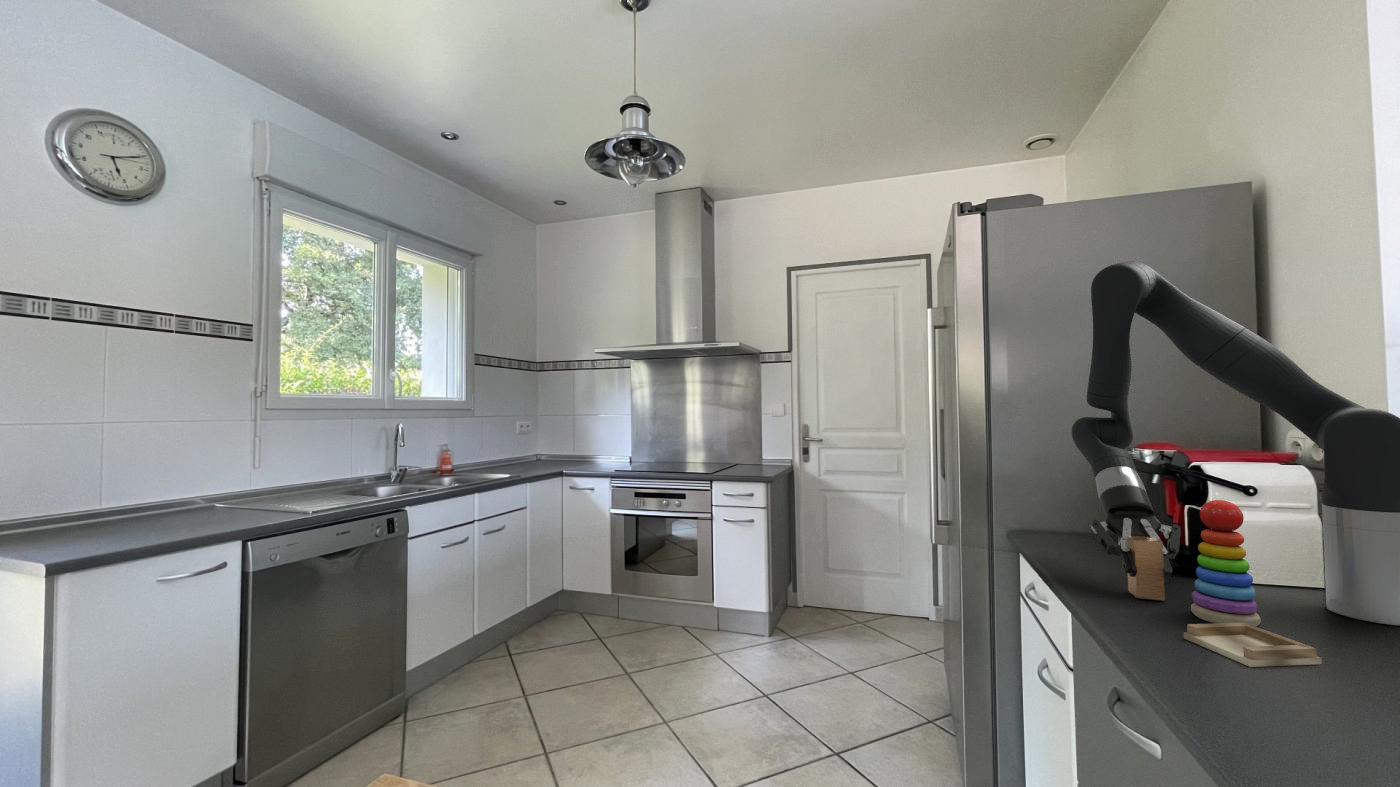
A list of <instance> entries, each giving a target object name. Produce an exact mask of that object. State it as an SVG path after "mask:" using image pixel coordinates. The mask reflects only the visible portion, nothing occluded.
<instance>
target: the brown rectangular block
mask: <svg viewBox="0 0 1400 787" xmlns="http://www.w3.org/2000/svg"><path fill="white" fill-rule="evenodd" d="M1127 537H1128V543H1129V547H1130V550H1129V552H1130V553H1132V556H1133V560H1134V563H1135V566H1136V567H1137V574H1136V575H1135V577H1131V576H1129V573H1127V590H1128V592H1129V593H1131V595H1133V596H1134V597H1135V598H1136V599H1141V600H1142V599H1144V600H1154V601H1166V593H1165V592H1166V591H1165V579H1164V573H1163V568H1164V563H1163V546H1164V545H1163V544H1164V543H1163V541H1162V540H1161V541H1160V540H1158V539H1156V538H1153V537H1144V536H1127Z"/></svg>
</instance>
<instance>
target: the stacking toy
mask: <svg viewBox="0 0 1400 787" xmlns="http://www.w3.org/2000/svg"><path fill="white" fill-rule="evenodd" d="M1199 517H1200V520H1201V521H1202V523H1203V524H1204V525H1205V526H1206V527H1207V529H1204V530H1202V531H1201V532H1200V537H1201V539H1202V540H1203V541H1202V542H1200V543H1199V544H1198V545H1197V547H1198V548H1197V549H1198V551H1199V553H1200V554H1199V555H1198V556H1197V559H1196V560H1197V563H1198V565H1199V566H1198V567H1197V568H1196V569H1195V574H1196V576H1197V577H1198V578H1197V579H1195V581H1194V588H1196V590H1194V591H1193V592H1192V593H1191V598H1192V600H1193V603H1191V606H1190V610H1191V612H1192V614H1193V615H1194V616H1196V617H1197V618H1199V619H1201V620H1203V621H1206V622H1209V623H1211V624H1215V623H1247V624H1250V625H1252V626H1255V627H1258V626H1259V625H1261V621H1262V619H1261V616H1260V615H1259V614H1258V613H1257V611H1258V605H1257V603H1256V601H1255V600H1254V598H1255V597H1256V590H1255V588H1254V587H1253V586H1252V584H1253V582H1254V579H1253V576H1252V575H1251V574H1250V573H1249V572H1248V571H1249V570H1250V567H1251V566H1250V563H1249V562H1248V561H1247V560H1246V559H1244V558H1246V556H1247V552H1246V549H1245V548H1244V547H1243V546H1241V545H1242V544H1244V542H1245V537H1244V535H1243V534H1242V533H1240V532H1238V531H1236V530H1238V529H1239V528H1240V527H1242V526H1243V523H1244V513H1243V511H1242V510H1241V508H1240V507H1238V506H1237V505H1236V504H1235V503H1232V502H1231V501H1227V500H1225V499H1215V500H1209V501H1208V502H1206V503H1204V504H1203V505H1202V506H1201V507H1200V510H1199Z"/></svg>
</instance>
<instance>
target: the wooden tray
mask: <svg viewBox="0 0 1400 787" xmlns="http://www.w3.org/2000/svg"><path fill="white" fill-rule="evenodd" d="M1186 625H1187V626H1186V628H1187V631H1186V632H1183V639H1184V640H1187V641H1189V642H1191V643H1193V644H1196V645H1198V646H1201V647H1203V648H1205V649H1207V650H1210V651H1213V652H1215V653H1217V654H1219V655H1222V656H1223V657H1226V658H1229V659H1231V660H1233V661H1235V662H1237V663H1240V664H1242V665H1245V666H1248V667H1250V668H1253V667H1255V668H1256V667H1257V668H1259V667H1281V666H1283V667H1284V666H1287V667H1288V666H1308V665H1314V666H1315V665H1322V657H1320V656H1318V652H1317V650H1318V649H1317V648H1316V647H1313V646H1310V645H1308V644H1305V643H1302V642H1299V641H1296V640H1294V639H1291V638H1288V637H1286V636H1282V635H1280V634H1277V633H1275V632H1271V631H1269V630H1266V629H1263V628H1260V627H1258V626H1256V627H1255V626H1252V625H1250V624H1247V623H1196V624H1195V623H1188V624H1186Z"/></svg>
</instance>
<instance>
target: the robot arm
mask: <svg viewBox="0 0 1400 787" xmlns="http://www.w3.org/2000/svg"><path fill="white" fill-rule="evenodd" d="M1090 294H1091V296H1090V300H1091V312H1092V314H1091V315H1092V347H1091V348H1092V349H1091V360H1090V369H1089V370H1090V371H1089V376H1088V384H1087V392H1086V403H1087V404H1088V405H1089V406H1090V407H1092V408H1095V409H1097V410H1103V411H1107V412H1110V415H1111V416H1110V417H1095V416H1094V417H1093V416H1083V417H1080V418H1078V419H1076V421H1074V422H1073V425H1072V427H1071V437H1072V440H1073V443H1074V445H1075V446H1076V448H1077V449H1078V450H1079V451H1080V453H1081V454H1082V455H1083V458H1085V460H1086V461H1087V462H1088V464H1089V465H1090V466H1091V469H1092V474H1093V476H1094V479H1095V484H1096V490H1097V496H1098V498H1099V501H1100V504H1101V507H1102V510H1103V514H1104V516H1105V520H1104V521H1099V520H1096V519H1095V520H1093V521H1091V522H1092V523H1091V526H1090V529H1089V530H1090V533H1092V535H1093V536H1094V538H1095V539H1096V541H1097V542H1098V543H1099V545H1100V546H1101V547H1102V548H1103V551H1104V552H1106V554H1107V555H1115V556H1118V557H1119V559H1120V561H1121V564H1122V568H1123V571H1124V573H1126V574H1128V573H1129V576H1131V577H1135V575H1136V574H1137V567H1136V566H1135V563H1134V560H1133V556H1132V553H1130V552H1129V550H1130V547H1129V543H1128V537H1127V536H1144V537H1153V538H1156V539H1158V540H1160V541H1162V540H1161V538H1160V536H1159V535H1158V534H1159V532H1161V533H1163V536H1164V538H1165V539H1167V547H1165V546H1164V545H1163V563H1164V568H1163V573H1164V580H1168V579H1169V577H1171V575H1172V574H1173V567H1172V564H1171V562H1170V560H1175V559H1176V556H1177V554H1178V553H1179V551H1180V543H1181V531H1182V527H1181V526H1180V525H1178V524H1172V526H1170V525H1166V524H1162V522H1161V521H1160V520H1159V519H1158V518H1157V517H1156V515H1155V511H1154V509H1153V506H1152V504H1151V500H1150V498H1149V495H1148V492H1147V490H1146V488H1145V485H1144V483H1143V481H1142V478H1141V477H1140V476H1139V474H1138V471H1137V469H1136V465H1135V463H1134V460H1133V457H1132V456H1131V454H1130V453H1129V452H1128V451H1127V450H1126V449H1127V448H1129V447H1130V446H1131V445H1132V442H1133V440H1134V433H1133V427H1132V422H1131V418H1130V413H1129V403H1128V401H1129V393H1130V385H1131V380H1132V358H1131V357H1132V356H1131V346H1130V344H1131V343H1130V338H1131V337H1130V336H1131V328H1132V323H1133V319H1134V317H1135V316H1134V315H1135V314H1137V315H1138V316H1140V317H1141V318H1143V319H1145V320H1147V321H1149V322H1150V323H1152V324H1153V325H1154V326H1156V327H1158V329H1159V330H1161V331H1162V333H1164V334H1165V336H1166V337H1167V338H1168V339H1169V340H1170V341H1171V342H1172V344H1173V345H1175V347H1176V348H1177V349H1178V350H1179V351H1180V352H1181V353H1182V354H1183V355H1184V356H1185V357H1186V358H1187V359H1188V360H1190V361H1191V362H1192V363H1194V365H1196V366H1197V367H1199V368H1200V369H1202V370H1204V371H1205V372H1206V373H1208V374H1209V375H1211V376H1212V377H1214V378H1215V379H1216V380H1218V381H1220V383H1221V382H1222V383H1223V384H1225V385H1226V386H1227V387H1230V388H1232V389H1233V390H1235V392H1236V391H1237V392H1238V393H1240V394H1242V395H1244V396H1246V397H1247V398H1249V399H1250V400H1253V401H1255V402H1256V403H1259V404H1260V405H1262V406H1264V407H1265V408H1268V409H1269V410H1271V411H1273V412H1274V413H1276V414H1277V415H1279V416H1281V417H1282V418H1283V419H1285V420H1286V421H1287V422H1288V423H1290V424H1291V425H1293V426H1294V427H1295V428H1296V429H1298V430H1299V431H1300V432H1301V433H1303V434H1304V435H1305V436H1306V437H1308V439H1310V440H1311V441H1312V442H1313V443H1315V445H1316V446H1318V447H1319V448H1320V449H1321V450H1323V460H1324V461H1323V463H1324V464H1323V466H1324V469H1323V470H1324V477H1323V484H1322V485H1323V486H1322V488H1321V503H1322V504H1321V510H1322V511H1321V512H1322V513H1321V514H1322V530H1323V553H1324V554H1323V556H1324V558H1323V559H1324V576H1325V577H1324V579H1325V599H1326V601H1325V604H1326V609H1327V610H1329V611H1331V612H1333V613H1335V614H1338V615H1342V616H1345V617H1349V618H1351V619H1357V620H1361V621H1365V622H1371V623H1377V624H1382V625H1383V624H1384V625H1389V626H1390V625H1391V626H1400V417H1399V416H1397V415H1395V414H1393V413H1391V412H1388V411H1386V410H1381V409H1377V408H1367V407H1364V406H1362V405H1359V404H1358V403H1356V402H1354V401H1352V400H1350V399H1348V398H1346V397H1344V396H1342V395H1340V394H1338V393H1337V392H1335V391H1333V390H1331V389H1329V388H1328V387H1326V386H1324V385H1322V384H1321V383H1319V382H1318V381H1317V380H1316V379H1314V378H1312V377H1311V376H1310V374H1309V375H1308V374H1307V373H1306V372H1305V371H1304V369H1302V368H1301V367H1300V366H1299V365H1298V364H1296V363H1295V362H1294V361H1293V360H1292V359H1291V358H1290V357H1289V356H1287V355H1286V354H1285V353H1284V352H1282V351H1281V350H1280V349H1279V348H1277V347H1276V346H1275V345H1273V344H1272V343H1270V342H1269V341H1267V340H1266V339H1265V338H1263V337H1261V336H1260V335H1258V334H1257V333H1255V332H1253V331H1251V329H1248V328H1246V327H1245V326H1243V325H1241V324H1239V323H1237V322H1236V321H1234V320H1232V319H1231V318H1228V317H1227V316H1225V315H1224V314H1221V312H1218V311H1216V310H1215V309H1212V308H1211V307H1209V306H1207V305H1205V304H1203V303H1201V302H1199V301H1198V300H1196V299H1194V298H1191V296H1188V295H1187V294H1186V293H1184V292H1183V291H1181V290H1180V289H1179V288H1178V287H1177V286H1175V285H1173V284H1172V283H1171V282H1169V281H1168V280H1167V279H1166V278H1164V277H1163V276H1162V275H1161V274H1159V272H1157V271H1156V270H1154V268H1152V267H1151V266H1148V265H1147V264H1145V263H1143V262H1139V261H1133V260H1130V261H1129V260H1128V261H1123V262H1118V263H1114V264H1111V265H1107V266H1106V267H1104V268H1103V269H1101V270H1100V271H1098V273H1096V275H1095V276H1094V277H1093V280H1092V282H1091V285H1090ZM1108 530H1109V532H1111V533H1112V534H1114V535H1115V536H1116V537H1118V543H1117V544H1116V542H1115V541H1114V539H1113V537H1111V535H1110V534H1109V533H1108Z"/></svg>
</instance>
